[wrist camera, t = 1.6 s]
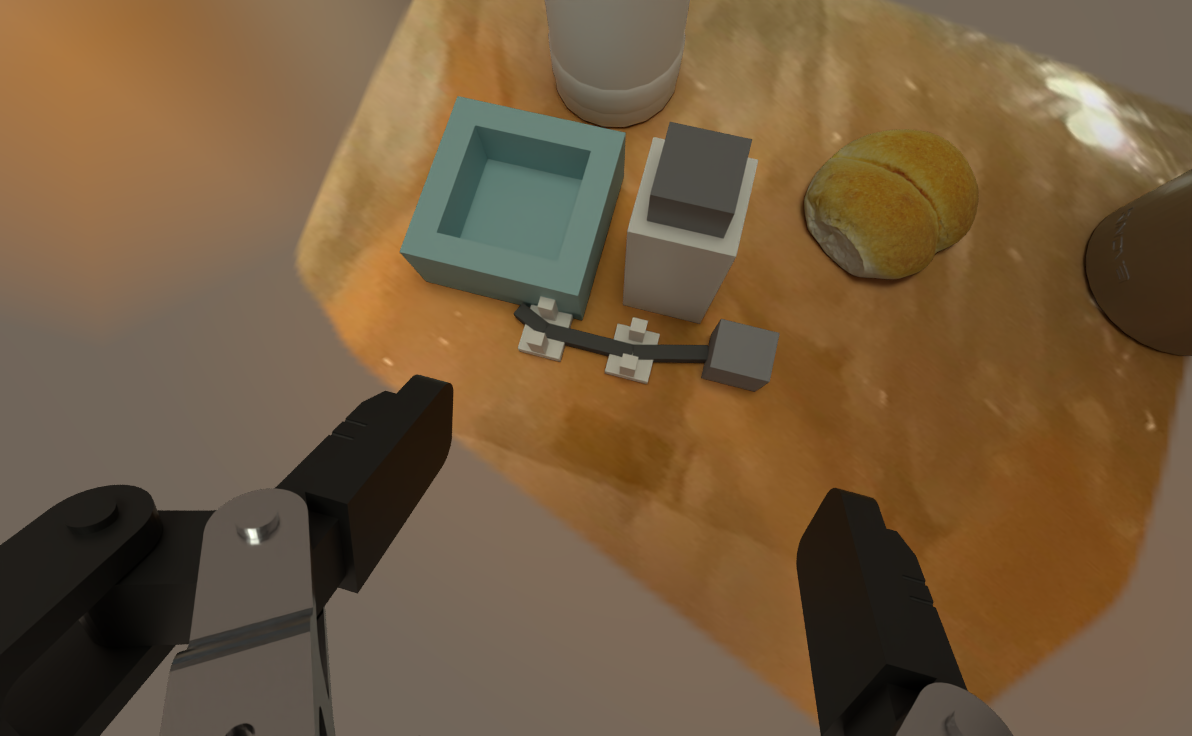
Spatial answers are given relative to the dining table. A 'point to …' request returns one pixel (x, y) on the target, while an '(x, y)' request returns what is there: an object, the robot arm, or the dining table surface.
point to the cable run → (653, 347)
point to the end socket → (517, 206)
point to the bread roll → (891, 203)
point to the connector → (687, 221)
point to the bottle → (616, 56)
